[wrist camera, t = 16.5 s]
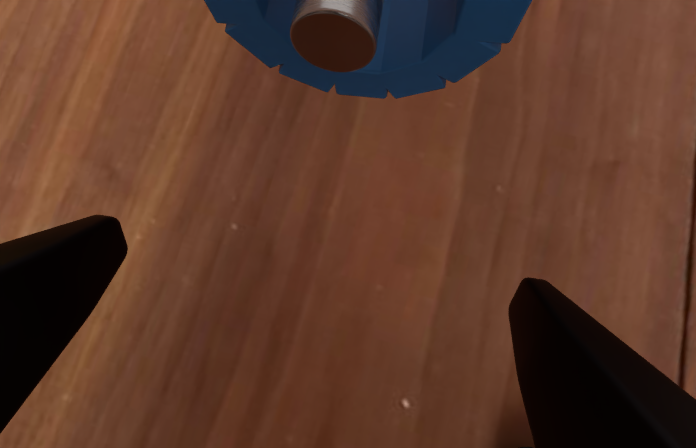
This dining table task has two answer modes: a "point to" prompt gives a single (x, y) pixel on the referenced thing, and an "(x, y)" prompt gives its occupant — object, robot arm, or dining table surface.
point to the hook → (336, 32)
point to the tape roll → (383, 42)
